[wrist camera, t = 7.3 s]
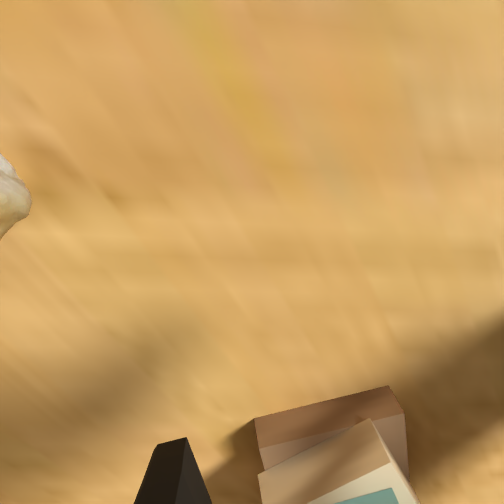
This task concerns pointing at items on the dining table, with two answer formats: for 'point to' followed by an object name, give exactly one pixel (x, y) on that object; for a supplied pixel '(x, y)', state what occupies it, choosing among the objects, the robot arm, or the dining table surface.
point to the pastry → (12, 197)
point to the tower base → (332, 425)
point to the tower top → (337, 471)
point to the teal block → (374, 498)
